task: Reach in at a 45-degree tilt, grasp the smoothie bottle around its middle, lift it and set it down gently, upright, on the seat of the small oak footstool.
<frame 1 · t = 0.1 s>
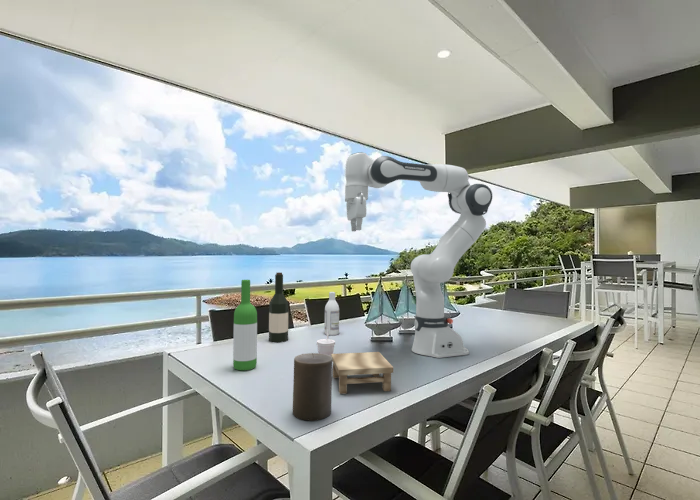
hand: (356, 230, 144), 48 cm above the table, tool pointing down, fingers open, 8 cm apart
smoothie: (325, 370, 126), on the table
footstool: (360, 383, 114), on the table
wine bottle 2: (245, 368, 127), on the table
wine bottle: (278, 340, 164), on the table
pillar candle: (312, 412, 94), on the table
bath foam: (331, 334, 178), on the table
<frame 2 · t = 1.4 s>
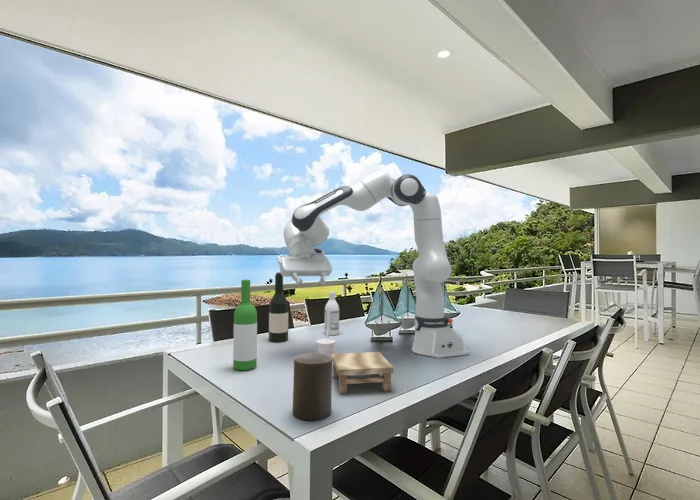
hand: (311, 283, 136), 28 cm above the table, tool tilted 45°, fingers open, 8 cm apart
nothing on the table moved.
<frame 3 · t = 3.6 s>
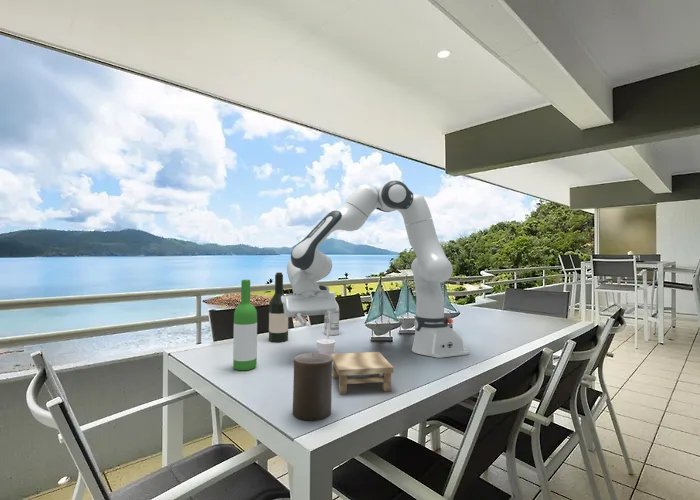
hand: (316, 323, 133), 14 cm above the table, tool tilted 45°, fingers open, 8 cm apart
nothing on the table moved.
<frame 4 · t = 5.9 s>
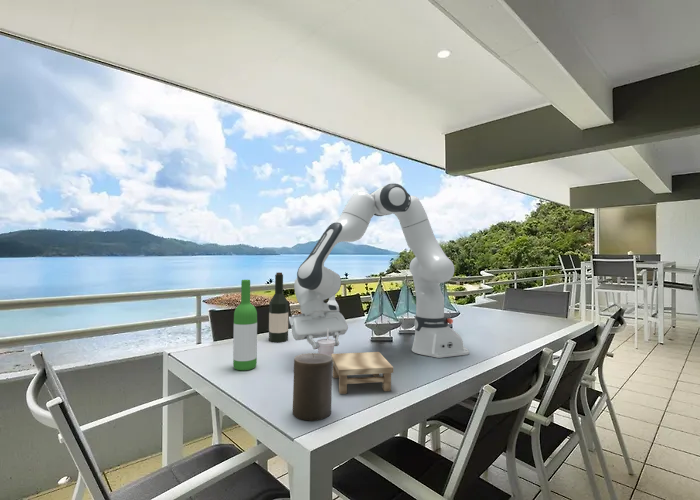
hand: (326, 346, 125), 8 cm above the table, tool tilted 45°, fingers closed on smoothie, 6 cm apart
smoothie: (325, 370, 126), on the table, touching gripper
everything else where it was.
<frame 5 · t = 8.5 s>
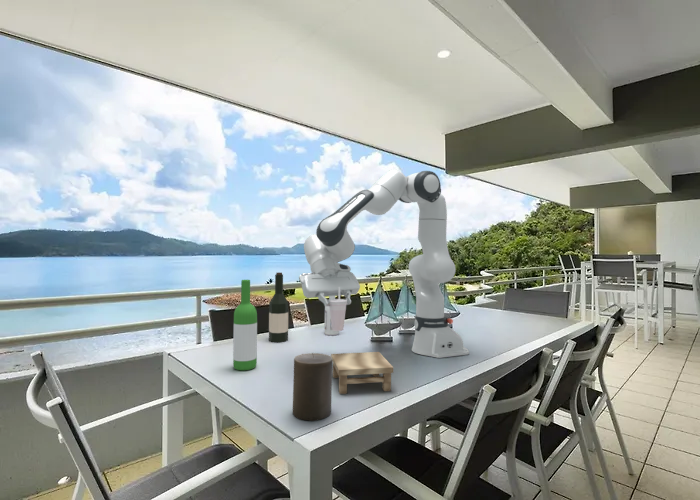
hand: (338, 304, 121), 23 cm above the table, tool tilted 45°, fingers closed on smoothie, 6 cm apart
smoothie: (337, 330, 122), point 14 cm above the table, touching gripper
everything else where it was.
when the fingers open (16 cm above the table, at t = 11.4 s): smoothie stays where it is, resting on footstool.
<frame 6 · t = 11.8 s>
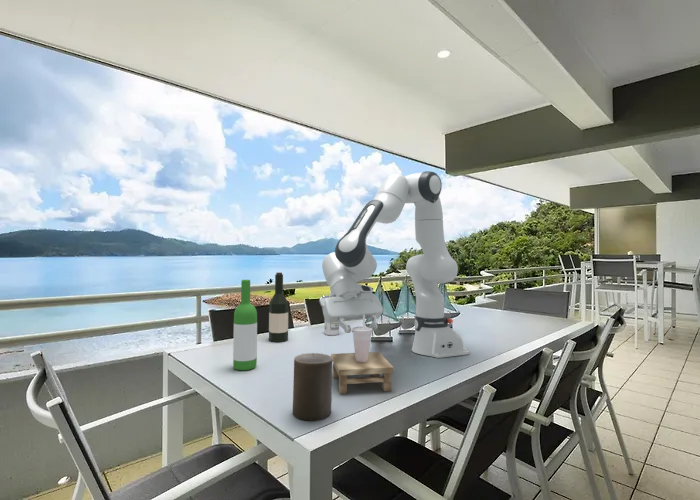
hand: (362, 330, 113), 16 cm above the table, tool tilted 45°, fingers open, 8 cm apart
smoothie: (361, 360, 114), point 7 cm above the table, touching footstool
everything else where it was.
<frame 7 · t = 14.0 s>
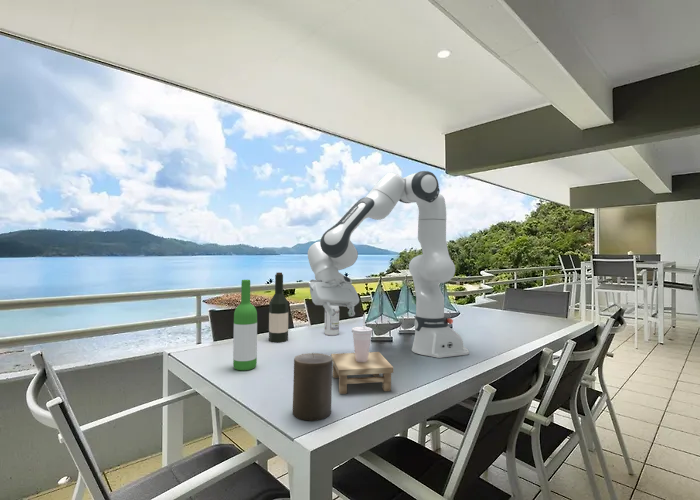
hand: (343, 315, 127), 18 cm above the table, tool tilted 40°, fingers open, 8 cm apart
nothing on the table moved.
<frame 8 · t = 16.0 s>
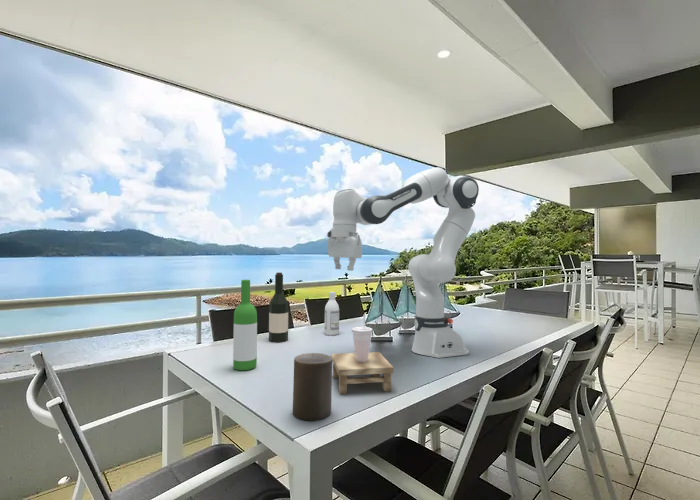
hand: (344, 269, 139), 33 cm above the table, tool pointing down, fingers open, 8 cm apart
nothing on the table moved.
at the end: smoothie inside the target area on the footstool (0.4 cm from its centre), point 6.8 cm above the footstool's base; smoothie tilted 0°; the gripper is holding nothing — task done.
